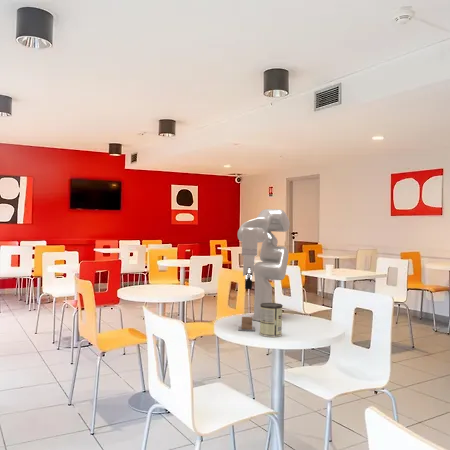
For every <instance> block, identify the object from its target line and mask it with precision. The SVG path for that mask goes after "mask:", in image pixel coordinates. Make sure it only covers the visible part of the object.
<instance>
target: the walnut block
mask: <svg viewBox="0 0 450 450" xmlns="http://www.w3.org/2000/svg"><path fill="white" fill-rule="evenodd" d="M241 326H242V329H252V327H253V320H252V317H251V316H242V317H241Z"/></svg>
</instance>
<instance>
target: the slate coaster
mask: <svg viewBox="0 0 450 450" xmlns="http://www.w3.org/2000/svg"><path fill="white" fill-rule="evenodd" d="M238 332H256V327H255V326H252V329H242V325H239V326H238Z"/></svg>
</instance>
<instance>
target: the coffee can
mask: <svg viewBox="0 0 450 450" xmlns="http://www.w3.org/2000/svg"><path fill="white" fill-rule="evenodd" d="M260 306H261V309H260V321H259V335H260V336H262V337H267V338H279V337H281V336H282V334H283V333H282V329H283V327H282V326H283V306H284V305H283V304H281V303H278V302H277V303H276V302H272V303H261V304H260Z"/></svg>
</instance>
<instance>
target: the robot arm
mask: <svg viewBox="0 0 450 450" xmlns="http://www.w3.org/2000/svg"><path fill="white" fill-rule="evenodd" d="M290 226H291V223H290V219H289V217H288V214H287V213H286V212H285V211H284V210H283V209H281V208H279V209H278V208H276V209H275V208H267V209H262V210H261V211H260V212H259V214H258V215H257V217H255V218H252V219H250V220H247V221H245V222H243V223H242V224H241V225H240V227H239V229H238V230H237V239H238V240H239V241H240V242H241V256H243V260H242V261H243V263H242V277H245V279H244V284H245V285H244V286H245V287H244V289H245V290H252V289H253V280H252V277H254V300H253V301H254V302H253V303H254V304H253V315H252V316H250V317H252V321H257V322H260V309H261V306H260V304H261V303H273V287H272V284H271V282H270V281H282V280H284V279H285V277H286V273H287V269H288V262H289V250H288V248H287V247H286V246H281V245H279V246H278V238H277V237H276V235H275V234H274V233H273V232H276V233H277V232H280V233H281V232H283V233H286V232H288V231H289V229H290ZM258 243H262V244H261V248H260V252H259V259H260V261H258V262H256V263H255V258H256V257H257V256H258ZM269 280H270V281H269Z"/></svg>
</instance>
